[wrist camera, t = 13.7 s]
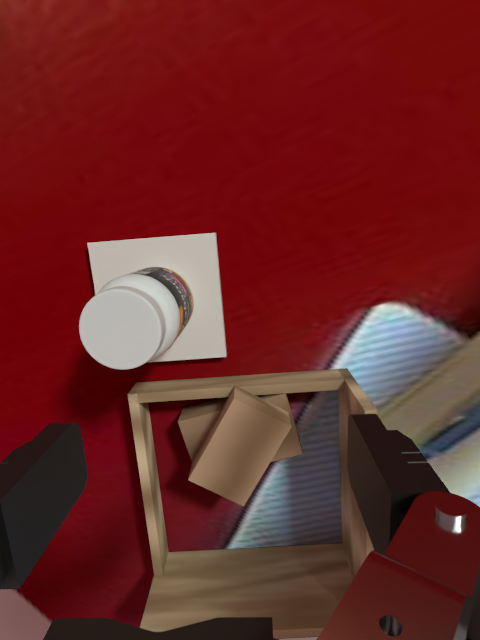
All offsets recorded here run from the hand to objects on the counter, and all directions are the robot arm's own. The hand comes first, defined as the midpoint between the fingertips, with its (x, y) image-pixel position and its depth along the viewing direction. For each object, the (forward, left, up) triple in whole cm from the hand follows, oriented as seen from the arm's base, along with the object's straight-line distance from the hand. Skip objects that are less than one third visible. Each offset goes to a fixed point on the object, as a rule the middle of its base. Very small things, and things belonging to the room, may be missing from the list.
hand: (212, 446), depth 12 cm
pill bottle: (-1, -6, -21) cm, 22 cm away
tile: (-1, -6, -21) cm, 22 cm away
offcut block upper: (+10, 0, -19) cm, 21 cm away
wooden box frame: (+15, 0, -21) cm, 26 cm away
